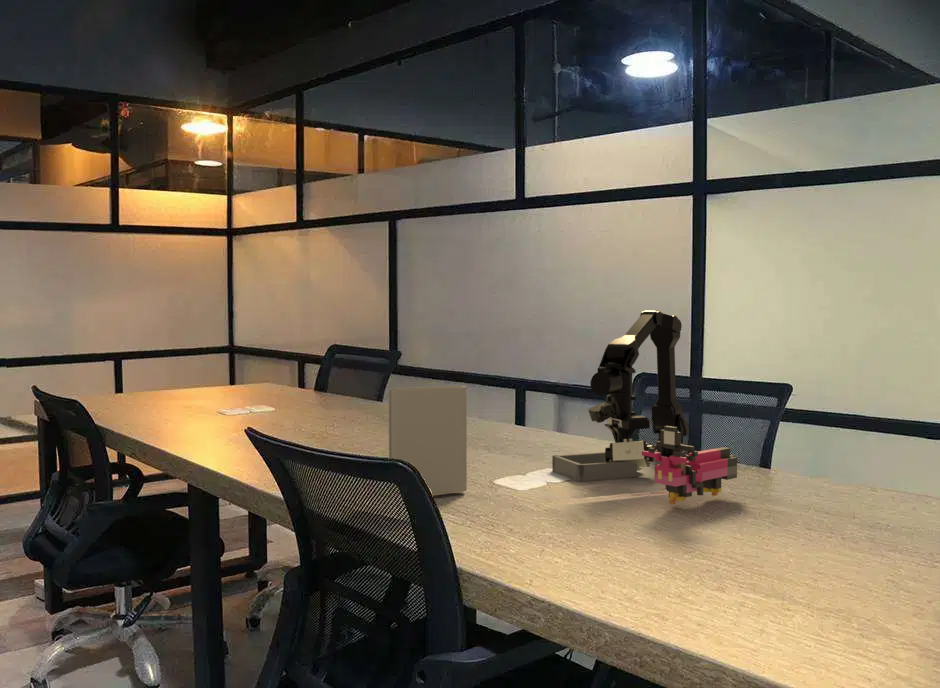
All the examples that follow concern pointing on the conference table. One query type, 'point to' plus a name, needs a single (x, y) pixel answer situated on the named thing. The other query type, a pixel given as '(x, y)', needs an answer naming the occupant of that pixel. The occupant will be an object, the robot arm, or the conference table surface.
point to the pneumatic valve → (629, 453)
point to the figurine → (690, 467)
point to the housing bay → (592, 467)
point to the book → (431, 434)
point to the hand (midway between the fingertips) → (620, 452)
